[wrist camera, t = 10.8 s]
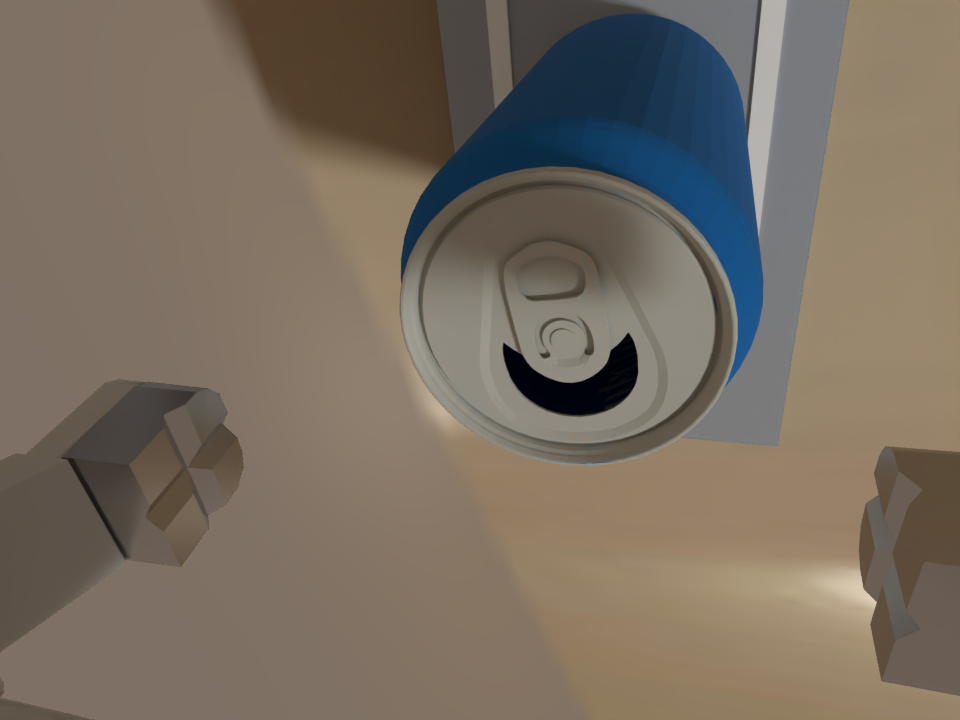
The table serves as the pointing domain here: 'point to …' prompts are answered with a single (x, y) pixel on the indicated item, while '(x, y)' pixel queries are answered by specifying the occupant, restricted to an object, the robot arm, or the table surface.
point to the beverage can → (591, 250)
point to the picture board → (769, 127)
